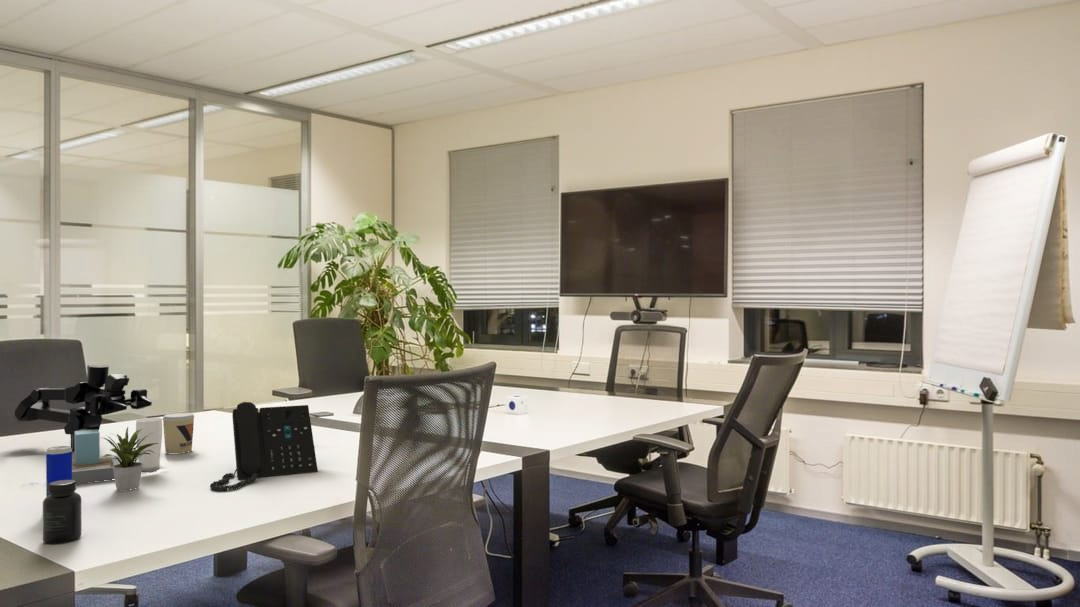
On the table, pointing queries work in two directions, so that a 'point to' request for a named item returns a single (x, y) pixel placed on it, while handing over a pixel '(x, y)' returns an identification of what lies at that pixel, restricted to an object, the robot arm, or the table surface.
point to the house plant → (128, 461)
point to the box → (94, 474)
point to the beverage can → (58, 464)
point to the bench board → (102, 462)
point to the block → (87, 447)
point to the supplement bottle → (62, 513)
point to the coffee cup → (178, 432)
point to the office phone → (270, 443)
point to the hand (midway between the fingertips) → (139, 405)
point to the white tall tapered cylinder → (146, 428)
